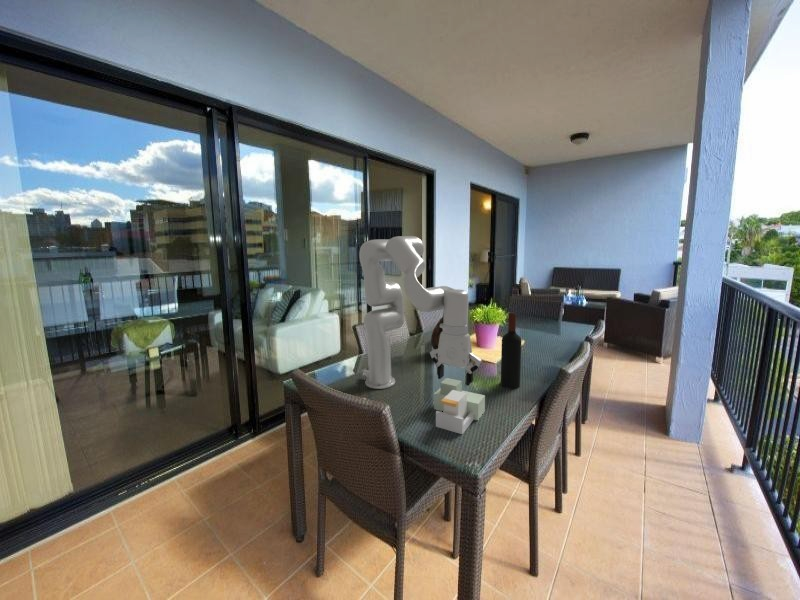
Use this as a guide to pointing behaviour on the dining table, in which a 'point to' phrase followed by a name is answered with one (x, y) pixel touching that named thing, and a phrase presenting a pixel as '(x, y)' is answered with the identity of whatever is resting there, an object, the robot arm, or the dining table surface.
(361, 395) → the dining table surface
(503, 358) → the wine bottle
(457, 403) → the orange-topped white box
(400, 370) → the dining table surface
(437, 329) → the ceramic jug
